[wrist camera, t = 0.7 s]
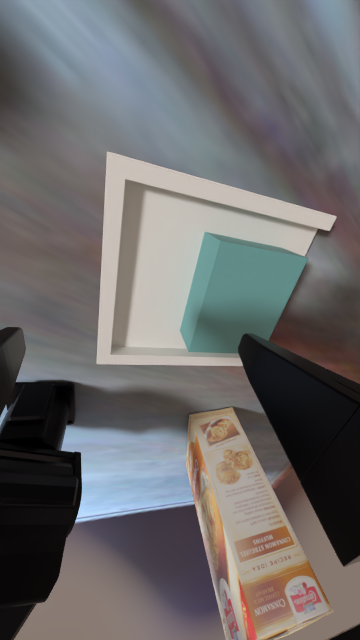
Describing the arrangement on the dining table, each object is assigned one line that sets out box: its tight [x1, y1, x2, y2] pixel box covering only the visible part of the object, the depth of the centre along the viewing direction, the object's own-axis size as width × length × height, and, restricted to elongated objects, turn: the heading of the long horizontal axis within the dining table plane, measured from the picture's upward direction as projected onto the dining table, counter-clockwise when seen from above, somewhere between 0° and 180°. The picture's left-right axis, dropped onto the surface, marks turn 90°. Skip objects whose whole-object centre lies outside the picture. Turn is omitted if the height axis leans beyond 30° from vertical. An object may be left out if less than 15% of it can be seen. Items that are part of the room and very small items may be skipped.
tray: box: [97, 151, 337, 366], centre depth 21 cm, size 17×19×2 cm
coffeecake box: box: [186, 407, 334, 640], centre depth 29 cm, size 15×7×20 cm, turn 179°
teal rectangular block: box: [180, 232, 308, 354], centre depth 21 cm, size 10×8×4 cm
